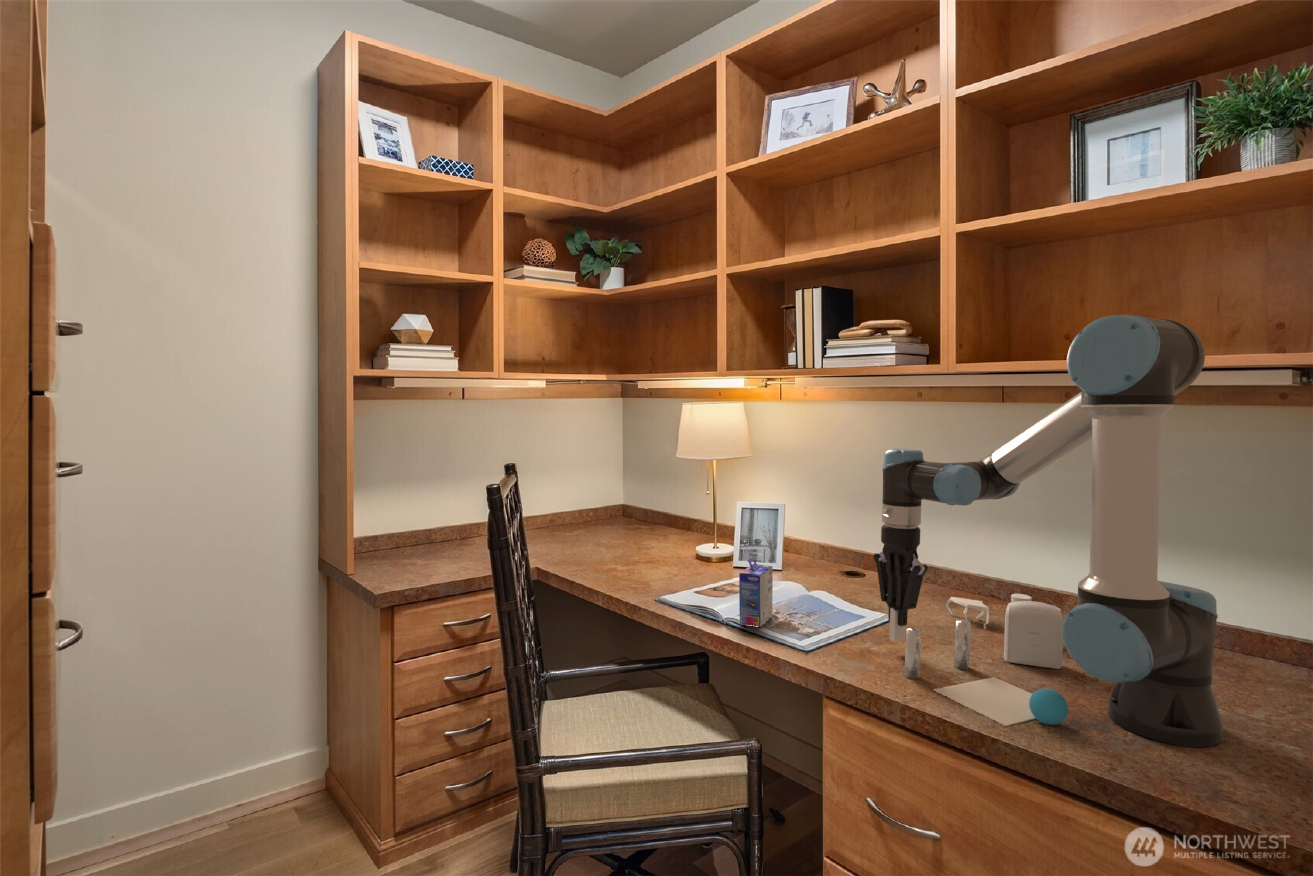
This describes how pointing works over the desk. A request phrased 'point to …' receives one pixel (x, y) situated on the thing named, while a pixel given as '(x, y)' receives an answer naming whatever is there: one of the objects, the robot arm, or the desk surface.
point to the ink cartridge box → (755, 594)
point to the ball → (1048, 706)
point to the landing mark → (992, 700)
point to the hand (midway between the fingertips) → (897, 639)
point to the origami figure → (970, 604)
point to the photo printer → (1033, 634)
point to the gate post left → (912, 652)
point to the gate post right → (962, 644)
